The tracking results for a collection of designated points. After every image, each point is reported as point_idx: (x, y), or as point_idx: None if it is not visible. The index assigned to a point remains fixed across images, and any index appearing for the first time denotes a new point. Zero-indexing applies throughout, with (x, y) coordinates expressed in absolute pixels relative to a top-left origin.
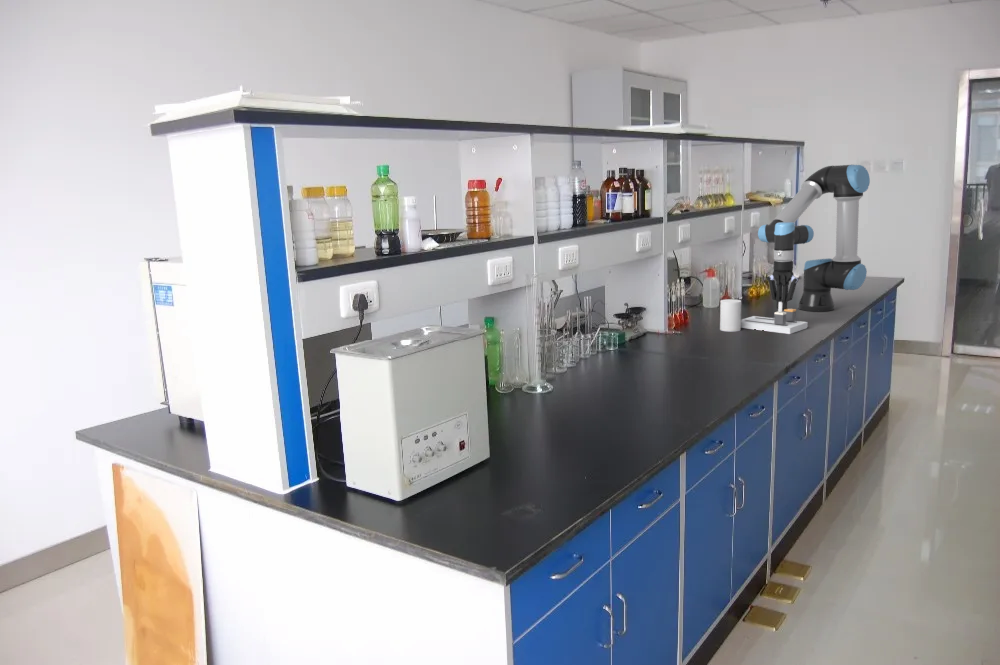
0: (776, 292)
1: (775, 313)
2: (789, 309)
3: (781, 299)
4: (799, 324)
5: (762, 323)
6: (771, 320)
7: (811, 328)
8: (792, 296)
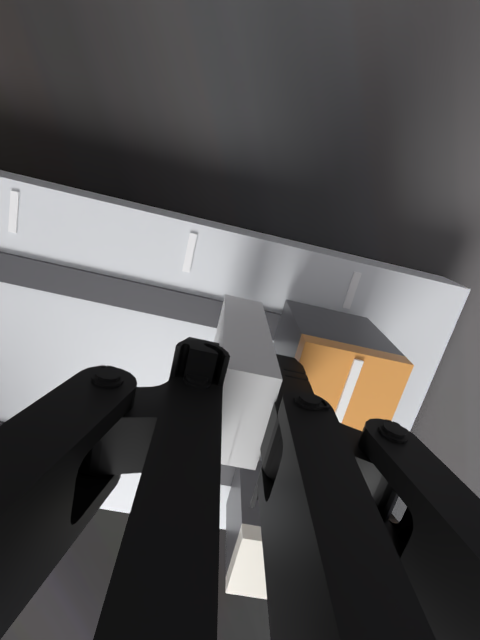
0: (74, 461)
1: (235, 585)
2: (343, 415)
3: (220, 400)
4: (409, 414)
5: (124, 474)
6: (147, 329)
7: (475, 285)
8: (448, 486)
